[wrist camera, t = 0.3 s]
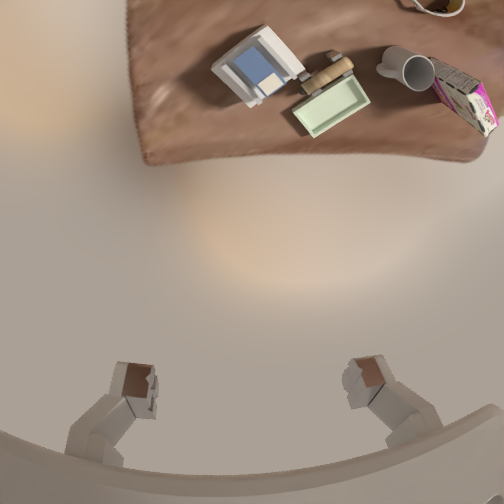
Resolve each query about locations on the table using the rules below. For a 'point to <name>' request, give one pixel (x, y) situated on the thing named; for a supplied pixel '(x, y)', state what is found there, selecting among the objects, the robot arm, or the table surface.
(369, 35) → the table surface
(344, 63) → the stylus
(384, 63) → the cup
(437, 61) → the candy bar box
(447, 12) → the sunglasses
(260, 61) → the blue box
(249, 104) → the grey card holder
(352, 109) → the tray
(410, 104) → the table surface
